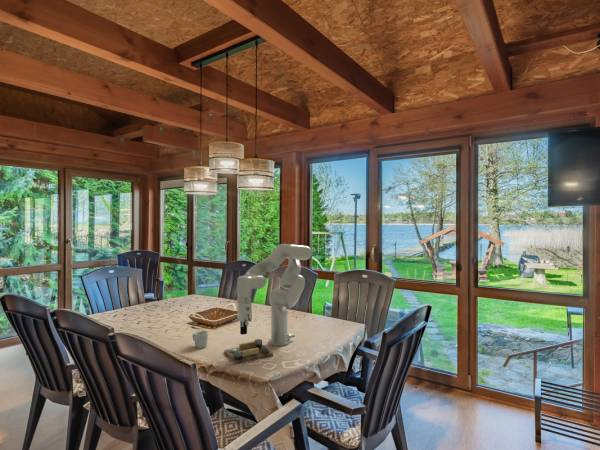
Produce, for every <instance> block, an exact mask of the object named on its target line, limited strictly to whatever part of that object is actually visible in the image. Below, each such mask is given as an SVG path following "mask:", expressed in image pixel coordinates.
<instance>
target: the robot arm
mask: <svg viewBox="0 0 600 450" xmlns="http://www.w3.org/2000/svg"><path fill="white" fill-rule="evenodd" d="M312 253H313V252H312V249H311V247H309V246H308V245H299V244H291V243H280V244H279V245H277V246H276V247H275V248H274V250H273V251H272V252H270V254H269V255H268V256H267V257H266V258H265V259H263V260H261V261H259V262H257V263H255V264H254V265H252V266H251V267H250V268H248V270H247V271H246V272H245V273H244V275H239V276H238V277H237V279H236V280H237V281H236V282H237V284H236V285H237V286H236V287H237V288H236V291H237V293H236V302H237V308H236V309H237V311H236V312H237V313H236V316H237V319H238V320H239V326H240V327H239V328H240V331H239V333H240V335H242V336H244V335H247V334H248V326H249V325H250V324H249V322H250V323H251V322H252V321H253V312H252V310H253V309H252V290H260V289H263V288H264V287H265V286H266V284H267V280H266V277H265V276H263V275H262V274H266V273H270V272H274V271H276V270H277V269H279V267H280V266H281V265H282V264H283V263H284V261H285V260H287V259H288V264H287V267H286V269H285V270H284V272H283V274H282V275H281V277H280V281H279V286H280V287H281V288H277V287H275V288H274V289H272V290H271V291H270V293H269V296H268V298H269V303H270V313H271V315H270V317H271V318H270V320H271V323H270V324H271V327H270V329H271V331H270V332H271V338H270V339H268V344H269V345H271V346H275V347H283V346H287V345H289V344H290V343H291V339H292V338H295V337H296V334H295V333H288V332H289V329H288V309H287V308H290V309H291V308H293V307H295V306H296V304H297V303H298V301H299V299H300V297H301V295H302V293H303V291H304V289H305V286H306V280H305V277H304V276H303V275H301V274H300V273H301V271H302V264H301V261H307V260H309V259H310V258H311V256H312V255H313V254H312Z"/></svg>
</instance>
